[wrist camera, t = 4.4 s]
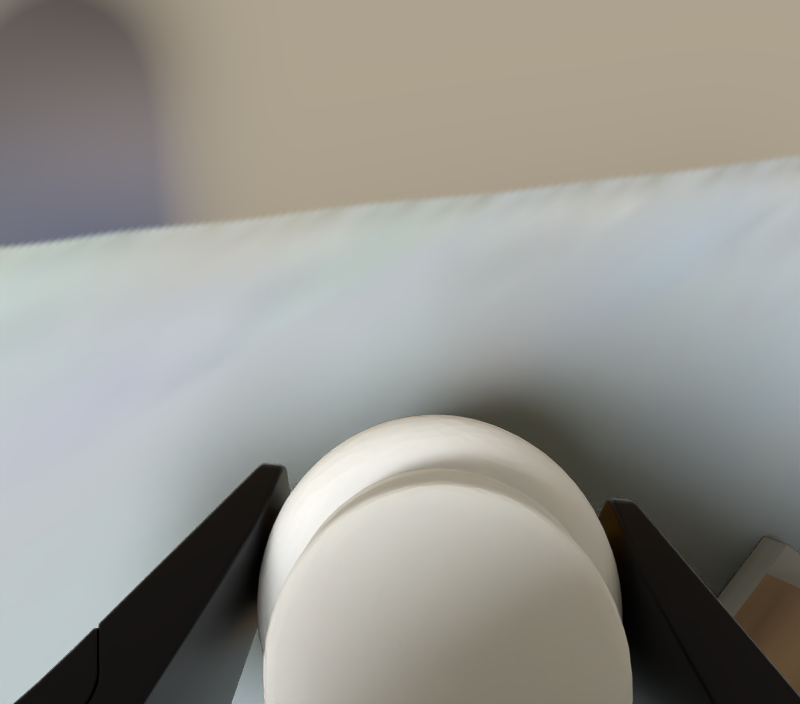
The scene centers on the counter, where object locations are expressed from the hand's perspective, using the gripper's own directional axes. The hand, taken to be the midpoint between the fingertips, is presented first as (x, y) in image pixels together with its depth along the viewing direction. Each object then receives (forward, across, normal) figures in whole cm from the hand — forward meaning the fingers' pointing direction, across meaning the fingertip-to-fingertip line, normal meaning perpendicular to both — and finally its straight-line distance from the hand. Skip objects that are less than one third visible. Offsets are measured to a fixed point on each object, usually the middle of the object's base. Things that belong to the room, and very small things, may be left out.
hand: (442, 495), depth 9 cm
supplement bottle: (+4, 0, +6) cm, 7 cm away
